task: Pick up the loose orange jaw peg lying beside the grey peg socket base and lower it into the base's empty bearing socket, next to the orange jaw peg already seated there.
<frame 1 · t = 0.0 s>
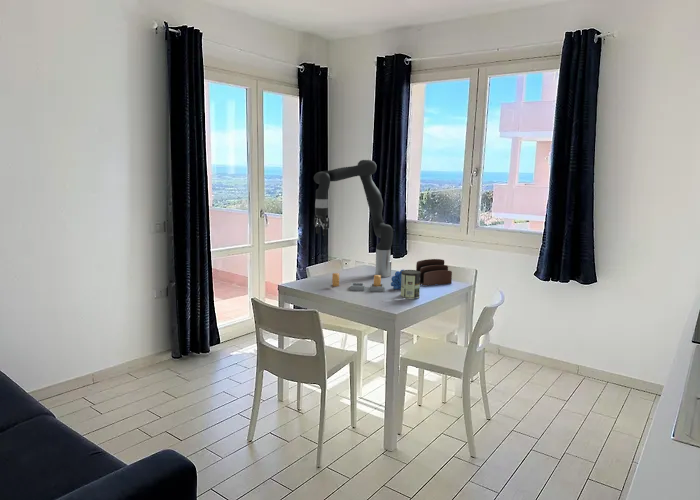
hand: (321, 234, 300), 29 cm above the table, tool pointing down, fingers open, 8 cm apart
grey peg socket base: (367, 290, 289), on the table
loose jaw peg: (335, 287, 296), on the table
letter holder: (433, 283, 312), on the table
grapes: (399, 290, 293), on the table
coffee can: (409, 297, 279), on the table
seated jaw peg: (377, 289, 289), point 1 cm above the table, touching grey peg socket base
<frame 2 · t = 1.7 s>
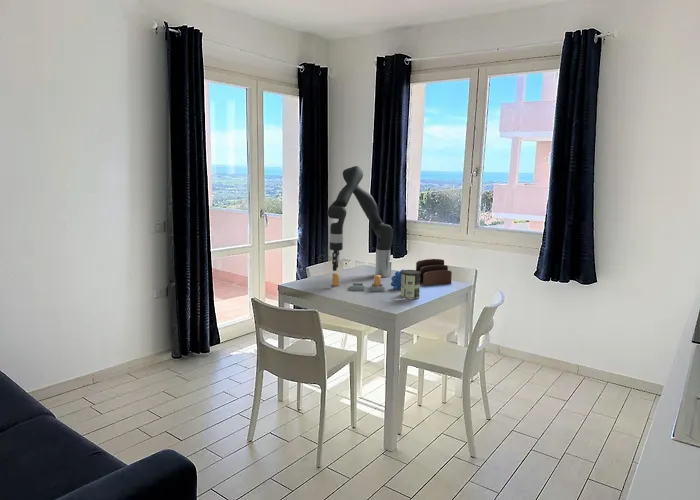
hand: (335, 269, 294), 11 cm above the table, tool pointing down, fingers open, 8 cm apart
nothing on the table moved.
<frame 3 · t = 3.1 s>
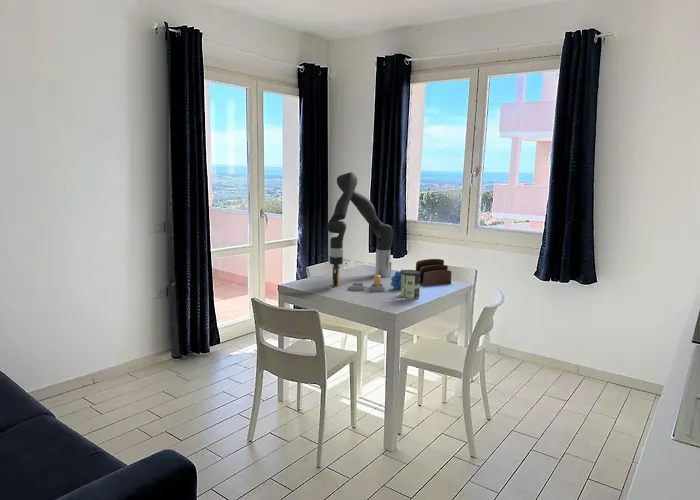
hand: (335, 284, 295), 2 cm above the table, tool pointing down, fingers closed on loose jaw peg, 4 cm apart
loose jaw peg: (335, 287, 296), on the table, touching gripper
everything else where it was.
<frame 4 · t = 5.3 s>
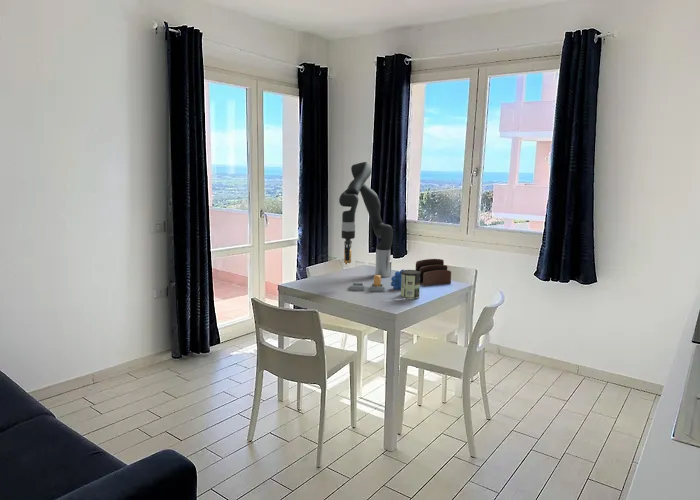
hand: (347, 259, 290), 17 cm above the table, tool pointing down, fingers closed on loose jaw peg, 4 cm apart
loose jaw peg: (347, 262, 290), point 15 cm above the table, touching gripper
everything else where it was.
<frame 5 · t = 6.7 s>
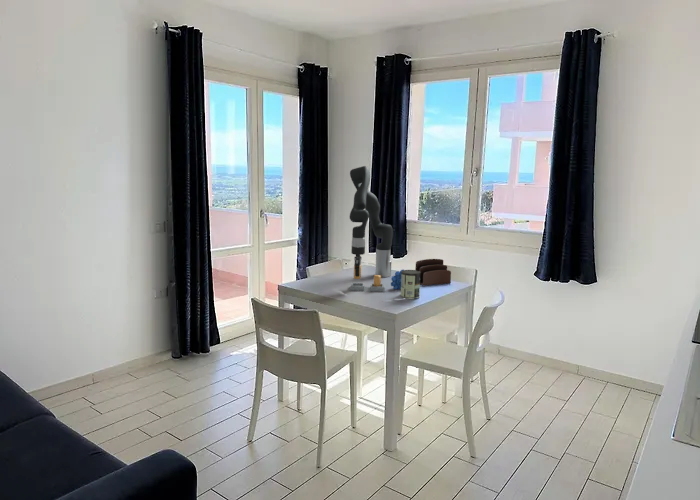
hand: (357, 275, 288), 9 cm above the table, tool pointing down, fingers closed on loose jaw peg, 4 cm apart
loose jaw peg: (357, 278, 288), point 7 cm above the table, touching gripper
everything else where it was.
when the fingers open (4 cm above the table, at t = 7.8 s): loose jaw peg drops 1 cm, resting on grey peg socket base.
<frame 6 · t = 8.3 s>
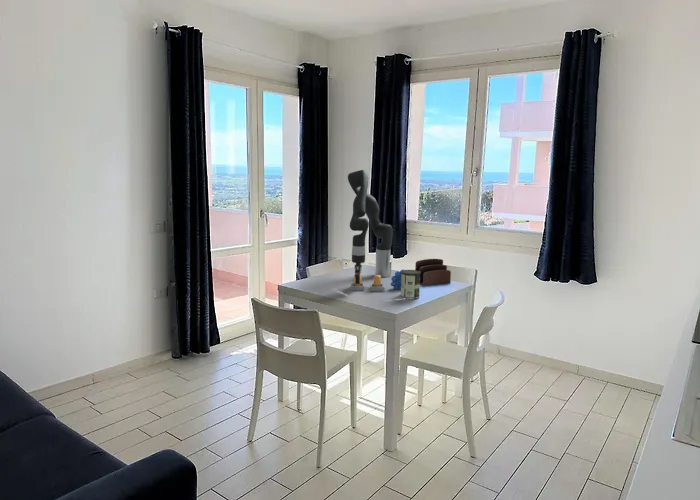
hand: (357, 281, 289), 5 cm above the table, tool pointing down, fingers open, 8 cm apart
loose jaw peg: (357, 288, 289), point 1 cm above the table, touching grey peg socket base
everything else where it was.
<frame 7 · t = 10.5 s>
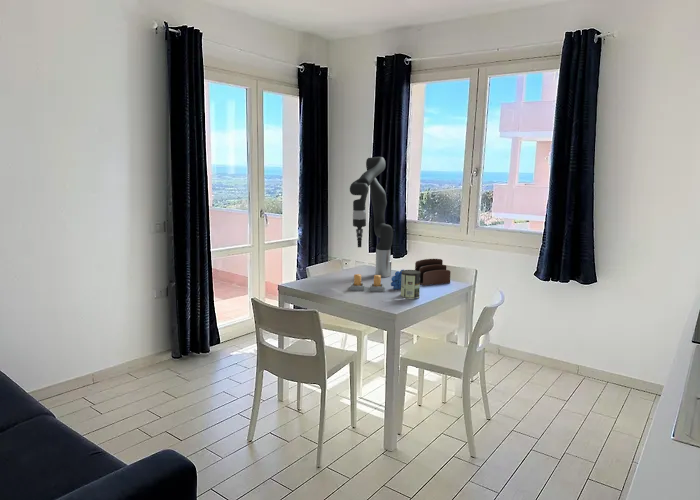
hand: (359, 245, 295), 24 cm above the table, tool pointing down, fingers open, 8 cm apart
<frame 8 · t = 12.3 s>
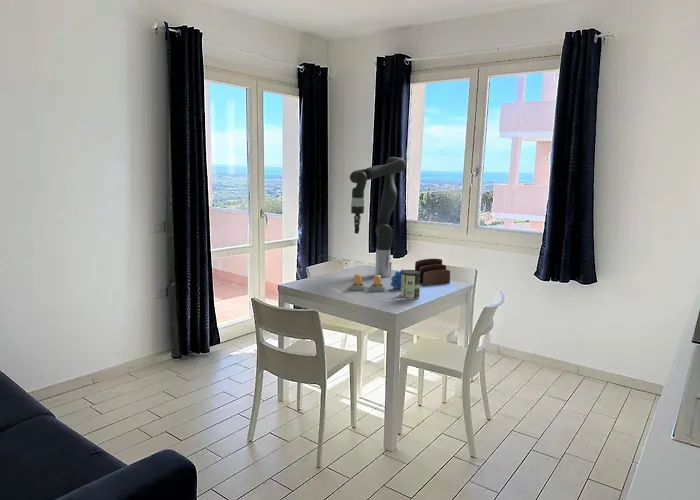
hand: (356, 232, 305), 30 cm above the table, tool pointing down, fingers open, 8 cm apart
at the end: loose jaw peg 0.1 cm from the target spot, point 1.0 cm above the table; loose jaw peg tilted 1°; seated jaw peg moved 0.0 cm from its start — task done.
